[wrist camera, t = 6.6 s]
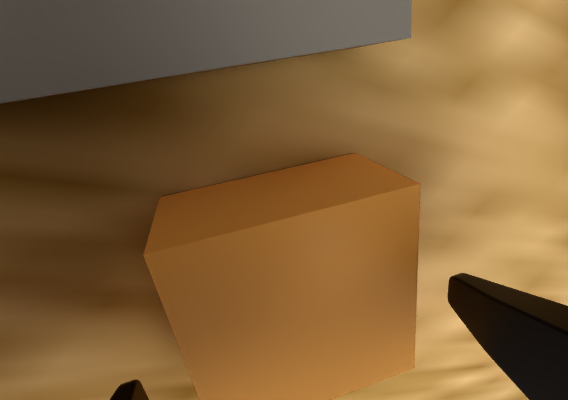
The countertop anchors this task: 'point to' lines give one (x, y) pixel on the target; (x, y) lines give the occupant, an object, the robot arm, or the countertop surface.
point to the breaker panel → (174, 38)
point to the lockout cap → (291, 279)
